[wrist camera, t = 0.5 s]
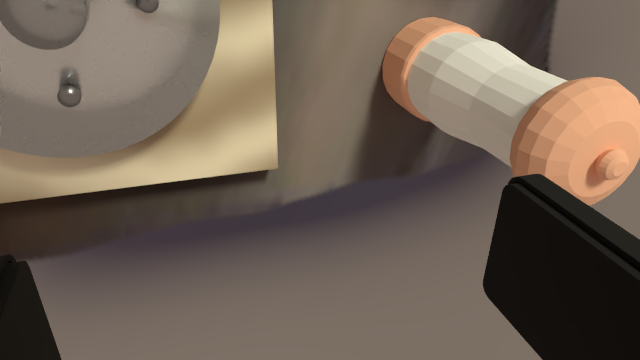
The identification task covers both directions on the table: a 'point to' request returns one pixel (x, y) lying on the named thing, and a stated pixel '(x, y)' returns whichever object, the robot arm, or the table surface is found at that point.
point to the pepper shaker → (516, 107)
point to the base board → (181, 125)
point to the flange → (99, 71)
